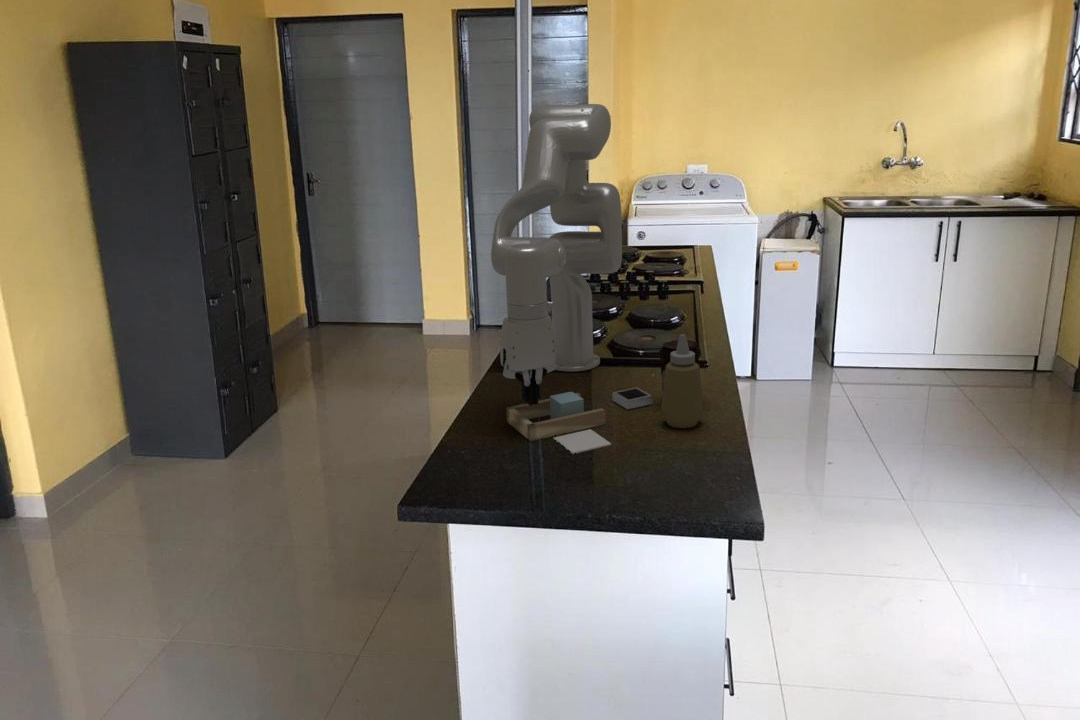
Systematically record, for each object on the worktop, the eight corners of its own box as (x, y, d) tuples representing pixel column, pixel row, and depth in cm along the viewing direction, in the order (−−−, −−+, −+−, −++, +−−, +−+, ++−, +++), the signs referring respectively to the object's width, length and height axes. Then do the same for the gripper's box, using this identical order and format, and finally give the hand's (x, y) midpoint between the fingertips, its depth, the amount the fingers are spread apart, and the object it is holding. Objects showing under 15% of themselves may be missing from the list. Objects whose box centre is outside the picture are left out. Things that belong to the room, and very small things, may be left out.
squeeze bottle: (653, 420, 171) (653, 333, 165) (688, 412, 174) (689, 326, 168) (675, 434, 164) (675, 343, 158) (711, 426, 167) (713, 337, 161)
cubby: (506, 421, 174) (506, 407, 173) (578, 406, 180) (577, 392, 179) (530, 441, 164) (529, 426, 163) (605, 424, 170) (605, 410, 169)
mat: (553, 439, 164) (553, 437, 164) (590, 430, 167) (590, 429, 167) (572, 454, 157) (572, 452, 157) (611, 445, 161) (611, 443, 160)
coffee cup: (699, 412, 174) (700, 350, 170) (657, 411, 176) (657, 349, 172) (700, 397, 182) (701, 337, 178) (660, 395, 184) (660, 337, 180)
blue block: (550, 419, 174) (549, 396, 173) (572, 414, 176) (571, 391, 175) (561, 427, 170) (560, 403, 168) (584, 422, 172) (583, 399, 170)
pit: (612, 401, 182) (612, 392, 181) (637, 396, 184) (637, 387, 184) (627, 410, 177) (627, 401, 176) (652, 404, 179) (652, 395, 179)
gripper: (554, 301, 169) (557, 391, 174) (482, 312, 163) (488, 404, 168) (571, 309, 162) (574, 401, 167) (498, 320, 156) (503, 415, 161)
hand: (531, 402), depth 168 cm, fingers closed
